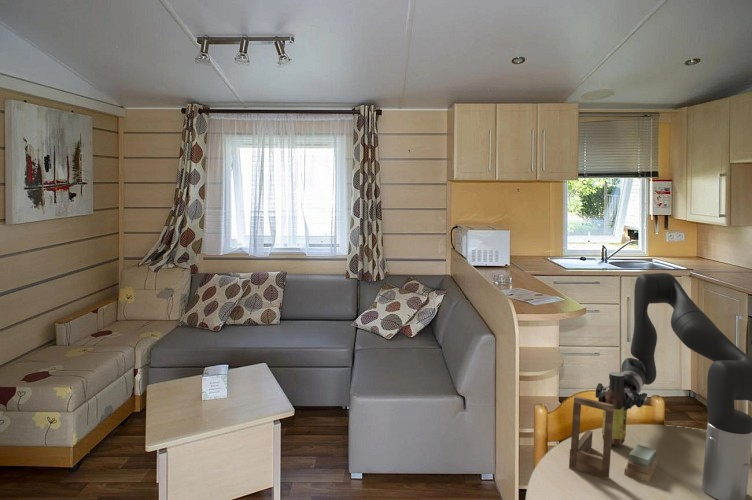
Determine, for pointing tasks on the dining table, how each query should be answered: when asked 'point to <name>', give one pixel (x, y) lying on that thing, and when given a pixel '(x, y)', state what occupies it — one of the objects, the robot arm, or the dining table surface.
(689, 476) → the dining table surface
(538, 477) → the dining table surface
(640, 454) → the offcut stack
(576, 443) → the walnut rack
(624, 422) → the sauce bottle
